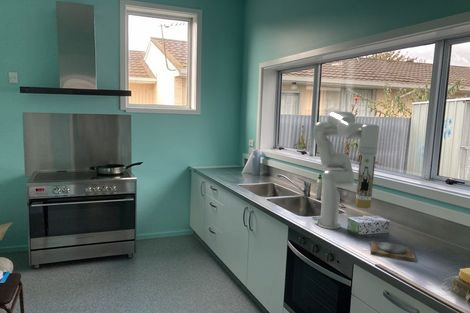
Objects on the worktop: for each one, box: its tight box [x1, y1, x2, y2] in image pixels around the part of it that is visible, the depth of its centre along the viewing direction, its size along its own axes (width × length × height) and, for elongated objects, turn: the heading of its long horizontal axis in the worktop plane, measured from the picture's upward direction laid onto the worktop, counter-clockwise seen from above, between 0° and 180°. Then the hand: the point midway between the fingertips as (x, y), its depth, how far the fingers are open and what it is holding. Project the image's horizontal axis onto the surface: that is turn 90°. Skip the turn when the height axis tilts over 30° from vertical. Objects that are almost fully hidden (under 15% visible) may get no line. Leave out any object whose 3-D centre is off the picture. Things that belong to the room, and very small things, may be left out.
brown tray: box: [370, 240, 416, 263], centre depth 166 cm, size 18×15×2 cm
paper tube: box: [355, 154, 377, 210], centre depth 169 cm, size 7×7×25 cm
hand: (364, 188), depth 169 cm, fingers closed on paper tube, 6 cm apart
